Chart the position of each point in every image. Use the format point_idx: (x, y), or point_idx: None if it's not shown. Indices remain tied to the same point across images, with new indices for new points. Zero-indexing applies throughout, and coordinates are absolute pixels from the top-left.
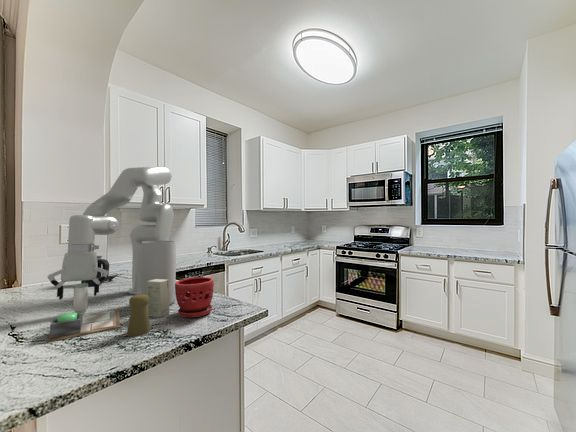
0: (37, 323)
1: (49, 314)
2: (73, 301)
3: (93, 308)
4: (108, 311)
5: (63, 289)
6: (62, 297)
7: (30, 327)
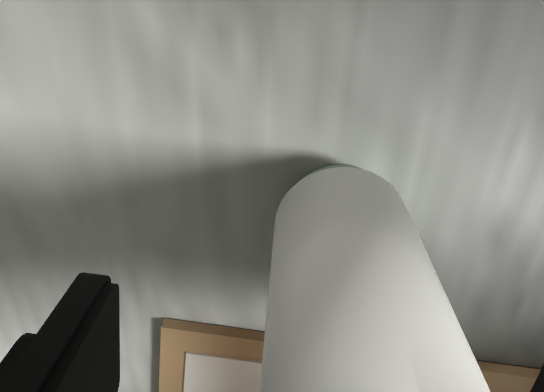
0: (30, 285)
1: (55, 39)
2: (268, 293)
3: (482, 125)
4: (530, 386)
5: (57, 388)
6: (116, 340)
7: (11, 346)
